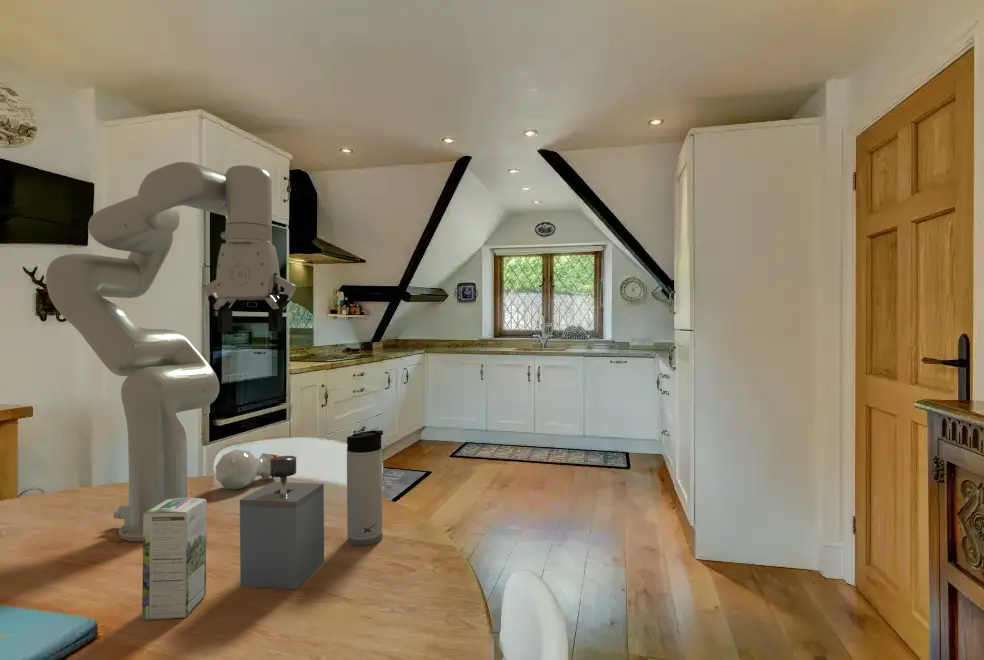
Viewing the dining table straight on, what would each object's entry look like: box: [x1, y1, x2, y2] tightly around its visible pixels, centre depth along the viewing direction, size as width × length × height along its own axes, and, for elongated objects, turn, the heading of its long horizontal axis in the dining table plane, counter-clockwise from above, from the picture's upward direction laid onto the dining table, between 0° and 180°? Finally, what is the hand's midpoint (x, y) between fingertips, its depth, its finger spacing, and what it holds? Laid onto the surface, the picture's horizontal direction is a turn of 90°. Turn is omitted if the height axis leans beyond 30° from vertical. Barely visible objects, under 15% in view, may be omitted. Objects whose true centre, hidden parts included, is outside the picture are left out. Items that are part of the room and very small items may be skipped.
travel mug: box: [346, 429, 384, 547], centre depth 94 cm, size 6×7×20 cm
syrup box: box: [141, 497, 207, 621], centre depth 71 cm, size 6×6×14 cm
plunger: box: [270, 455, 297, 494], centre depth 81 cm, size 6×6×15 cm
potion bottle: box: [215, 449, 280, 490], centre depth 127 cm, size 9×10×15 cm
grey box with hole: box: [239, 481, 325, 590], centre depth 81 cm, size 9×9×13 cm
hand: (250, 331), depth 92 cm, fingers open, 9 cm apart
